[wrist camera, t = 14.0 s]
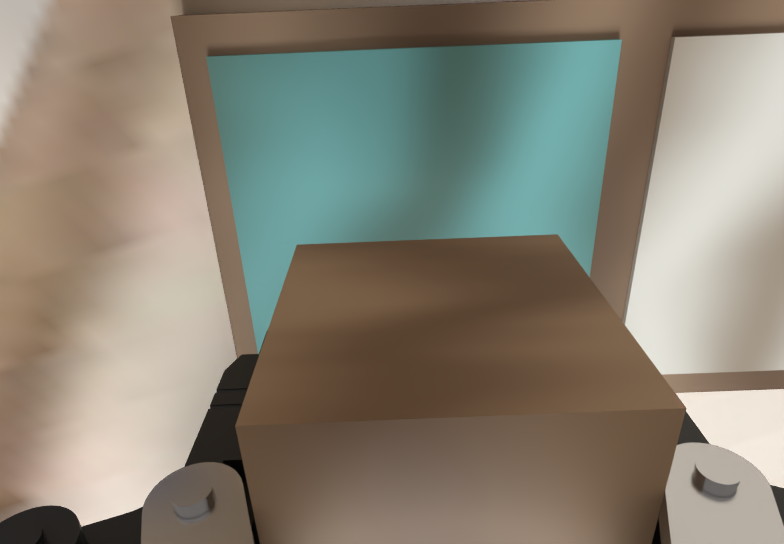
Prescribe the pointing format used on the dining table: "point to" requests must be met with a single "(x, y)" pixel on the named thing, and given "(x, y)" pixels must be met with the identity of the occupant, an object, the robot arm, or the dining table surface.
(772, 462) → the dining table surface
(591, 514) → the walnut block
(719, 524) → the robot arm
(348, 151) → the board
